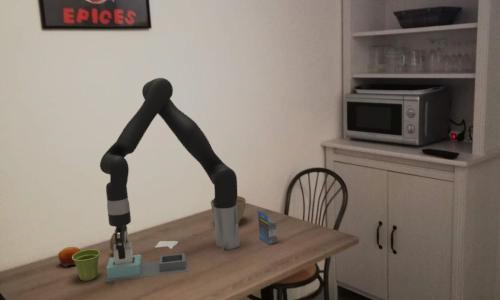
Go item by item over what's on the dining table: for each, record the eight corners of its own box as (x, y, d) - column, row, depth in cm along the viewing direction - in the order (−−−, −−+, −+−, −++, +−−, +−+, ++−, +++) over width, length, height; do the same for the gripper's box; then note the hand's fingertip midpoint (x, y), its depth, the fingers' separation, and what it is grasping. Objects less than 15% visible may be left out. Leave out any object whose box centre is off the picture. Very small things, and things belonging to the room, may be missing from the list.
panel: (186, 260, 175) (185, 248, 174) (187, 274, 164) (186, 261, 163) (110, 268, 171) (109, 256, 170) (106, 283, 160) (104, 270, 159)
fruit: (60, 268, 170) (57, 247, 173) (60, 271, 177) (57, 251, 179) (83, 263, 174) (80, 242, 176) (82, 266, 181) (78, 247, 183)
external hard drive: (178, 244, 193) (169, 257, 181) (159, 244, 194) (149, 257, 182) (177, 241, 192) (169, 253, 180) (159, 241, 193) (149, 253, 181)
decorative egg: (120, 248, 190) (118, 225, 188) (133, 251, 186) (130, 228, 184) (107, 255, 184) (104, 231, 182) (120, 258, 180) (117, 234, 178)
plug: (134, 268, 168) (131, 242, 167) (133, 272, 165) (130, 246, 163) (117, 270, 168) (114, 244, 166) (115, 274, 164) (113, 248, 162)
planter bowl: (211, 218, 222) (210, 197, 220) (244, 216, 223) (243, 194, 221) (212, 230, 206) (211, 207, 204) (248, 227, 207) (247, 204, 205)
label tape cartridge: (277, 242, 188) (276, 214, 186) (268, 244, 186) (267, 215, 184) (266, 236, 196) (265, 208, 194) (258, 238, 194) (257, 210, 192)
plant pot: (102, 280, 162) (99, 257, 161) (73, 285, 160) (70, 261, 158) (102, 269, 171) (100, 247, 169) (75, 273, 168) (72, 251, 167)
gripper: (127, 215, 155) (132, 260, 158) (131, 203, 169) (135, 245, 172) (104, 218, 154) (110, 263, 157) (110, 205, 168) (115, 247, 171)
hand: (123, 253), depth 165 cm, fingers open, 8 cm apart
